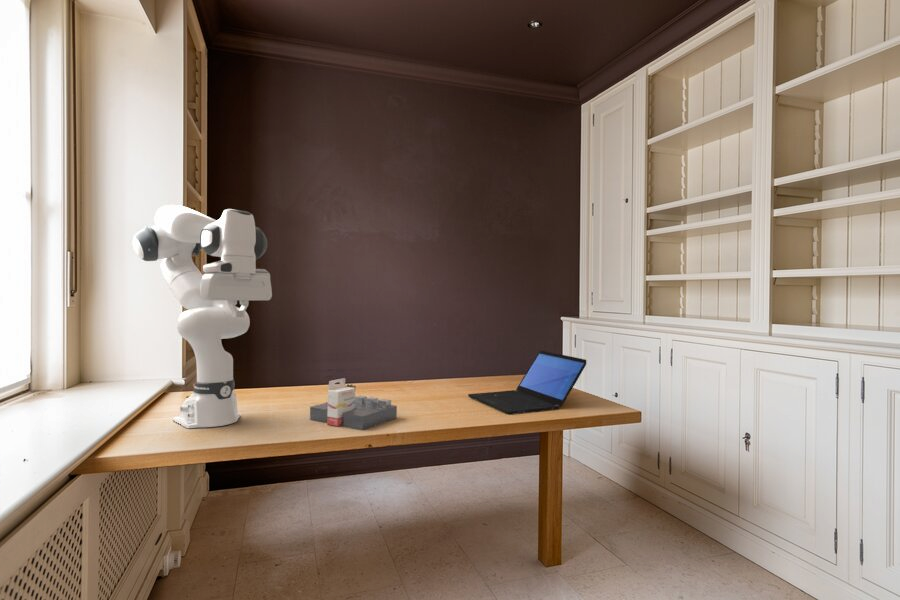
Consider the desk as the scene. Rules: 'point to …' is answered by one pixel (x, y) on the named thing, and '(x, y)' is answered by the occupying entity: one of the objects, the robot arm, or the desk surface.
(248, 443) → the desk surface
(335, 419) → the ink cartridge box
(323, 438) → the desk surface
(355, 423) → the castellated collar
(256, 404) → the desk surface
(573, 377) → the laptop
